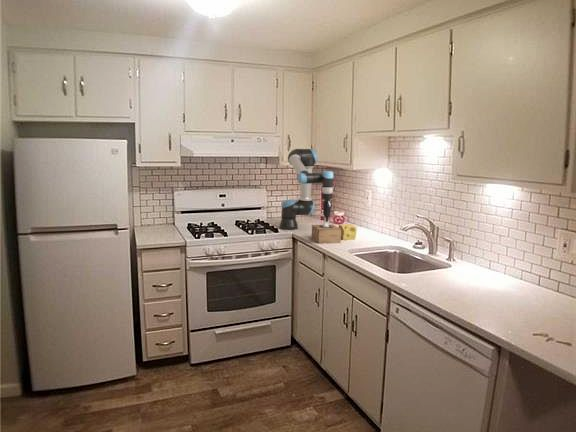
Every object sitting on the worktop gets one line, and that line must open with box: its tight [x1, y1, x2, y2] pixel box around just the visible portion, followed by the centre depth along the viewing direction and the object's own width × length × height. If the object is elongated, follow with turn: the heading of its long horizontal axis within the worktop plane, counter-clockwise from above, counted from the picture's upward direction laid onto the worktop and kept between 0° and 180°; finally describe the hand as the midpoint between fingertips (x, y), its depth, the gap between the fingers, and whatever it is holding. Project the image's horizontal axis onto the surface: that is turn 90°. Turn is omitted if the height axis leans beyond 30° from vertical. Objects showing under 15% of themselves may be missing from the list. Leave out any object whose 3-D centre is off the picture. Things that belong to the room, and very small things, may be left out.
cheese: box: [337, 223, 358, 241], centre depth 313 cm, size 10×11×10 cm
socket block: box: [311, 223, 342, 245], centre depth 304 cm, size 18×16×10 cm
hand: (326, 225), depth 303 cm, fingers closed
